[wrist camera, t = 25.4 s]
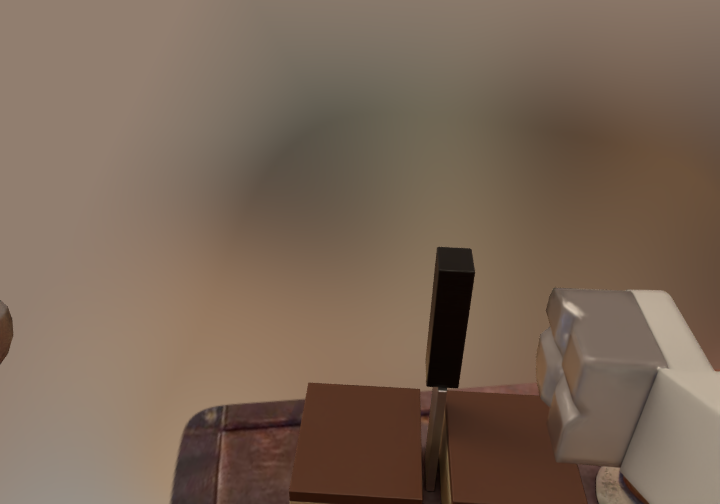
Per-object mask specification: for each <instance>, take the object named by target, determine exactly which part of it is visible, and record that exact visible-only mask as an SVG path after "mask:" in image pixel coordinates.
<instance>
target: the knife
mask: <svg viewBox="0 0 720 504" xmlns="http://www.w3.org/2000/svg"><path fill="white" fill-rule="evenodd" d="M474 276H475V269H474V263H473V256H472V250H471V249H470V248H469V249H468V248H449V247H438V248H437V253H436V263H435V273H434V282H433V294H432V302H431V313H430V322H429V332H428V342H427V352H426V385H427V386H428V387H433V389H432V398H431V407H430V416H429V425H428V434H427V442H426V451H425V480H426V491H434V488H435V481H436V473H437V466H438V458H439V450H440V443H441V435H442V428H443V420H444V412H445V405H446V397H447V388H458V386H459V379H460V372H461V366H462V359H463V351H464V344H465V338H466V331H467V324H468V317H469V310H470V303H471V296H472V290H473V283H474Z"/></svg>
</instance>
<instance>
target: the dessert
mask: <svg viewBox="0 0 720 504" xmlns="http://www.w3.org/2000/svg"><path fill="white" fill-rule="evenodd" d="M619 470H620V468H616V467H605V466H602V467H601V468H600V470H599V472H598V475H597V478H596V495H597V499H598V502H599V504H649V503H648V502H647V500H646V499H645V498H644V497H643V496H642V495H641V494H640V493H639V492H638V491H637V489H636V488H635V487H634V486H633V485H632V484H631V483H630V482H629V481H628V480H627V479H626V477H625V476H624V475H623V474H622V473H621V472H620V471H619Z"/></svg>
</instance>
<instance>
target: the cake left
mask: <svg viewBox="0 0 720 504" xmlns="http://www.w3.org/2000/svg"><path fill="white" fill-rule="evenodd" d="M289 497H290V504H422V500H423V495H422V452H421V410H420V389H410V388H393V387H376V386H358V385H340V384H322V383H308V388H307V393H306V399H305V405H304V410H303V416H302V421H301V427H300V433H299V438H298V444H297V449H296V455H295V461H294V466H293V472H292V477H291V483H290V488H289Z"/></svg>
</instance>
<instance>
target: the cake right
mask: <svg viewBox="0 0 720 504" xmlns="http://www.w3.org/2000/svg"><path fill="white" fill-rule="evenodd" d="M549 410H550V407H549V406H548V405H547V404H546V403H545V402H543V401H542V400H541V399H540V396H534V395H516V394H499V393H481V392H463V391H447V397H446V405H445V412H444V420H443V428H442V435H441V443H440V450H439V466H440V485H441V504H588V503H587V499H586V495H585V492H584V488H583V484H582V481H581V477H580V473H579V469H578V466H577V464H570V463H558V462H556V460H555V456H554V452H553V448H552V444H551V440H550V436H549V432H548V428H547V424H546V422H547V418H548V414H549Z"/></svg>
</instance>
